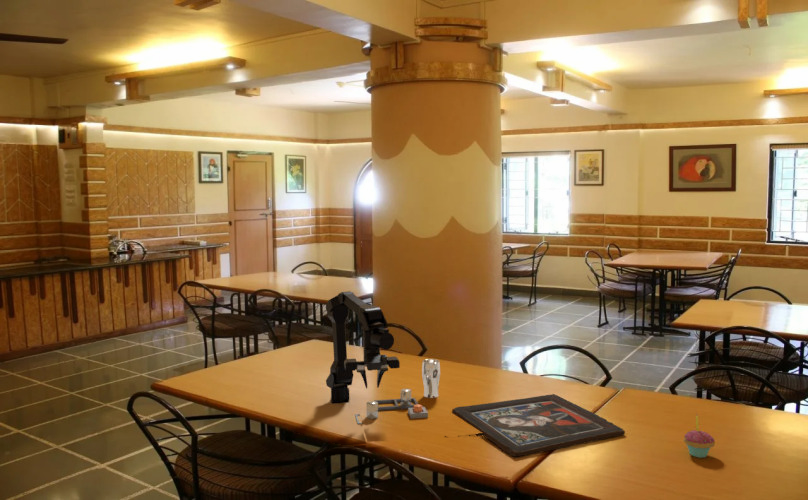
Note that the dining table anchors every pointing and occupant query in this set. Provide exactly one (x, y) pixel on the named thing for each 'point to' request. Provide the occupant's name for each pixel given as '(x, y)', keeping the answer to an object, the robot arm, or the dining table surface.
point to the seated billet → (406, 397)
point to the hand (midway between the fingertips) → (372, 387)
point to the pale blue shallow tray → (357, 419)
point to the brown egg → (417, 408)
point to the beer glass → (431, 377)
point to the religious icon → (537, 424)
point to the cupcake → (698, 442)
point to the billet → (372, 410)
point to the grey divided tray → (395, 404)
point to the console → (418, 413)
